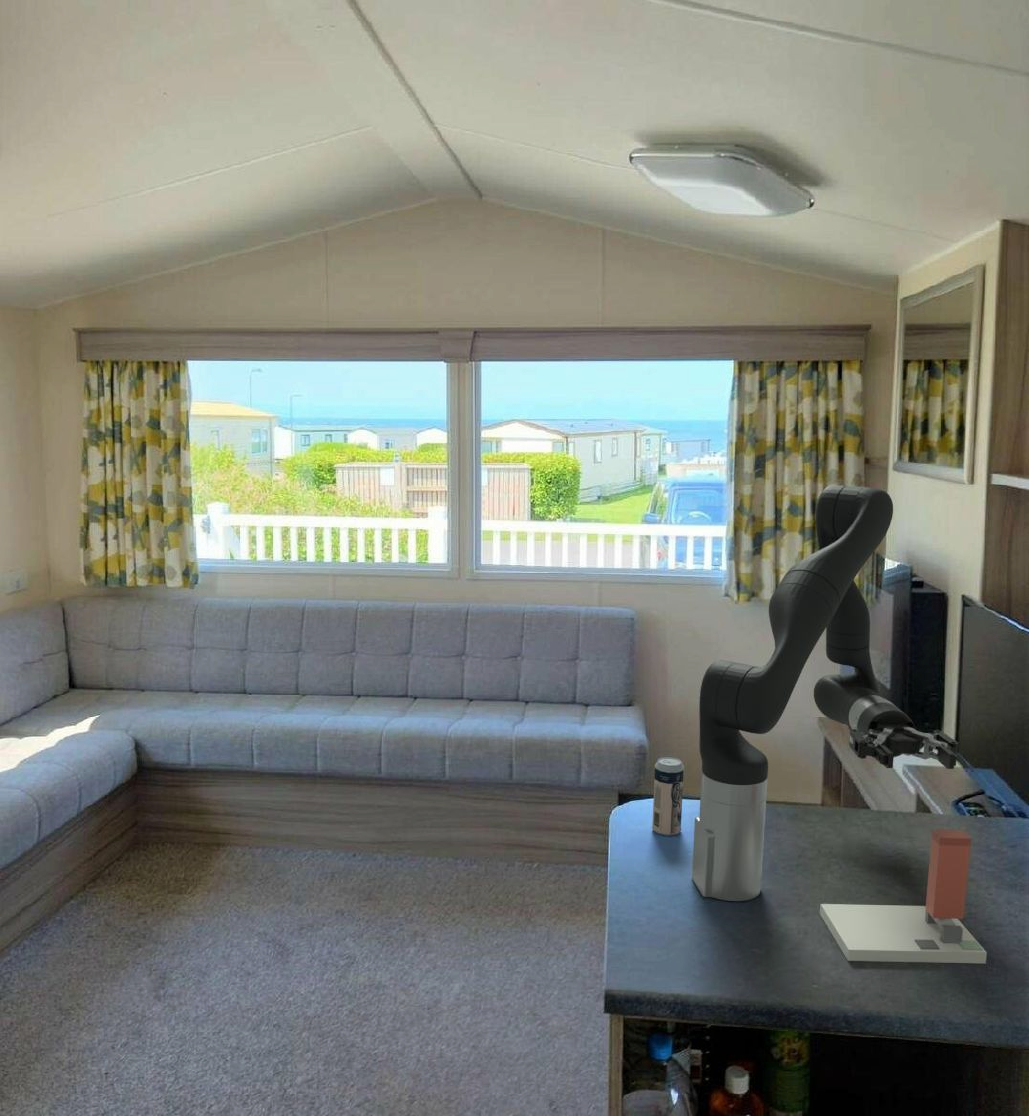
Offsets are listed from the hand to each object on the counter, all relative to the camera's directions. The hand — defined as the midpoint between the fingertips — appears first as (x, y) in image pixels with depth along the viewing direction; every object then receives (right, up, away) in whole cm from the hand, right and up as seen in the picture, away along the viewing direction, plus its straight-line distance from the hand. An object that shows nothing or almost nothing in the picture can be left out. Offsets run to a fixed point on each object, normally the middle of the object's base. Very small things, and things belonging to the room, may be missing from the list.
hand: (921, 762), depth 142 cm
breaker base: (-6, -22, -7) cm, 24 cm away
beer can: (-32, -17, +25) cm, 44 cm away
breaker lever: (0, -19, -8) cm, 21 cm away
